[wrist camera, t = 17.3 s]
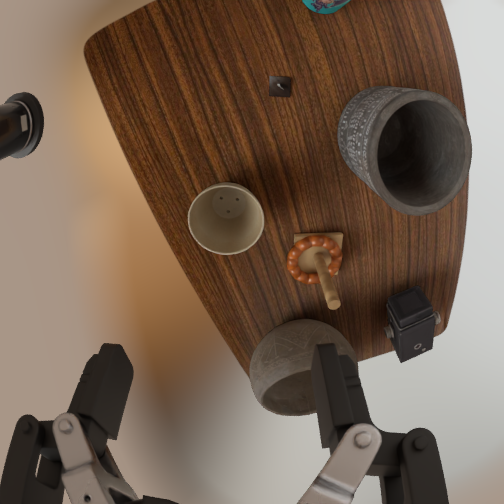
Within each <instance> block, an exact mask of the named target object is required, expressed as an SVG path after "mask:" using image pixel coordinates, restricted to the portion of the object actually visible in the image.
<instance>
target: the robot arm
mask: <svg viewBox="0 0 504 504" xmlns="http://www.w3.org/2000/svg"><path fill="white" fill-rule="evenodd" d="M33 132H34V116H33V113H32V110H31V108H30V107H29V105H28V104H27V103H26V102H24V101H21V100H17V101H13V102H10V103H7V104H2V105H0V160H1V159H3V158H6V157H8V156H10V155H12V154H14V153H17V152H20V151H22V150H24V149H25V148H26V147H27V146H28V145H29V143H30V141H31V139H32V136H33ZM311 378H312V385H313V391H314V397H315V403H316V410H317V416H318V423H319V429H320V436H321V443H322V448H330V455H331V457H330V458H329V460H328V461H327V463H326V464H325V466H324V467H323V469H322V470H321V471H320V473H319V474H318V476H317V477H316V479H315V480H314V481H313V483H312V484H311V486H310V487H309V488H308V490H307V491H306V492H305V494H304V495H303V496H302V498H301V499H300V500H299V502H298V503H297V504H351V502H352V500H353V498H354V493H355V491H356V489H357V488H358V486H359V484H360V483H361V481H362V479H363V478H364V476H365V475H370V476H379V479H380V487H381V496H382V504H449V502H448V495H447V489H446V484H445V479H444V474H443V470H442V464H441V460H440V456H439V451H438V447H437V443H436V439H435V437H434V435H433V434H432V433H431V432H430V431H429V430H427V429H425V428H416V429H413V430H411V431H409V432H408V433H407V434H405V433H390V432H385V431H382V430H380V429H378V428H377V427H376V426H375V425H374V424H373V422H372V421H371V418H370V415H369V411H368V407H367V404H366V400H365V396H364V393H363V389H362V387H361V382H360V378H359V375H358V371H357V368H356V364H355V363H354V362H353V360H352V359H351V358H350V357H349V356H348V354H346V355H338V352H337V349H336V345H335V343H324V344H316V345H315V348H314V354H313V360H312V365H311ZM132 380H133V366H132V364H131V362H130V360H129V359H128V357H127V355H126V353H125V351H124V349H123V347H122V346H121V345H120V344H109V343H104V344H103V345H102V346H101V349H100V351H99V354H94V355H93V356H92V357H91V358H90V359H89V361H88V362H87V363H86V366H85V368H84V370H83V374H82V375H81V378H80V382H79V383H78V385H77V388H76V390H75V393H74V396H73V398H72V401H71V404H70V406H69V409H68V411H67V412H66V413H63V414H60V415H59V416H58V417H57V418H56V419H55V420H53V421H52V420H51V421H38V420H37V419H36V418H35V417H34V416H32V415H24V416H22V417H21V418H20V419H19V420H18V422H17V424H16V427H15V430H14V433H13V436H12V440H11V444H10V447H9V450H8V454H7V458H6V462H5V466H4V470H3V474H2V479H1V484H0V504H62V502H63V495H64V488H65V489H66V491H67V494H68V496H69V499H70V501H71V503H72V504H178V503H176V502H173V501H170V500H167V499H161V498H155V497H150V496H145V495H143V499H139V498H138V497H137V495H136V493H135V492H134V491H133V489H132V488H131V487H130V485H129V484H128V483H127V482H126V481H125V480H124V478H123V476H122V474H121V472H120V471H119V469H118V467H117V465H116V463H115V461H114V459H113V456H112V455H111V452H110V450H109V448H108V446H107V445H106V443H107V439H113V440H117V436H118V432H119V427H120V423H121V420H122V415H123V412H124V408H125V405H126V401H127V397H128V393H129V390H130V387H131V383H132ZM40 454H41V460H40V464H39V468H38V473H37V477H36V475H35V473H36V468H37V464H38V459H39V455H40Z"/></svg>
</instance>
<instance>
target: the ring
mask: <svg viewBox="0 0 504 504" xmlns="http://www.w3.org/2000/svg"><path fill="white" fill-rule="evenodd" d="M311 247H324V248H325V249H327V250H329V252H330V254H331V263H330V264H329V265H328V269H329V272H330V275H331V278H332V277H333V276H334V275H335V273H336V272H337V271H338V270H339V268H340V267H341V261H342V251H341V249H340V247H339V245H338V243H337V242H336V241H334V240H332V239H331V238H329V237H327V236H325V235H310V236H307V237H305V238H303V239H301V240H300V241H298V242H296V243H295V244H294V246H293V247H292V249H291V250H290V252H289V253H288V256H287V269H288V270H289V272H290V273H291V275H292V276H293V278H294V279H296V280H298V281H300V282H303V283H305V284H319V283H321V282H320V279H319V276H318V273H309V274H308V273H306V272H304V271H302V270H301V269H300V267H299V266H298V258H299V257H300V255H301V254H302V253H303V251H305V250H307V249H309V248H311Z"/></svg>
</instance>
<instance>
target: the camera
mask: <svg viewBox="0 0 504 504" xmlns="http://www.w3.org/2000/svg"><path fill="white" fill-rule="evenodd" d="M387 301H388V302H387V314H388V325H389V326H386V327H384V332H385V335H386V337H387V338H390V340H391V342H392V344H393V347H394V349H395V351H396V353H397V356H398V358H399V360H400V362H401V363H402V362H404V361H407V360H409V359H411V358H413V357H416V356H418V355H420V354H422V353H424V352H426V351H428V350H431V349H432V347H433V337H434V328H435V325H436V324H437V323H440V321H441V319H440V315H439V313H438V312H437V311H434V312H433V306H432V305H431V303H430V302H429V300H428V299H427V297H426V296H425V294H424V293H423V291H422V290H421V288H420V286H418V285H417V286H414V287H412V288H410V289H407V290H405V291H402V292H400V293H398V294H395V295H393V296H390V297H389V298H388V300H387Z"/></svg>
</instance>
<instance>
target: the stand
mask: <svg viewBox="0 0 504 504" xmlns="http://www.w3.org/2000/svg"><path fill="white" fill-rule="evenodd" d="M310 235H325V236H327V237H329V238H331V239H332V240H334V241H336V242H337V243H338V245H339V247H340V249H341V248H342V240H343V234H342V232H335V233H304V234H294V244H295V243H296V242H298V241H300V240H301V239H303V238H305V237H307V236H310ZM330 263H331V254H330V252H329V250H327V249H325V248H324V247H311V248H309V249H307V250H305V251H303V253H302V254H301V255H300V257H299V258H298V266H299V267H300V269H301V270H302V271H304V272H306V273H308V274H309V273H318V276H319V279H320V282H321V285H322V289H323V292H324V295H325V298H326V302H327V305H328V308H329V309H331V310H335V309H337V308H339V307H340V305H341V302H340V300H339V297H338V294H337V291H336V288H335V286H334V283H333V280H332V278H331V275H330V272H329V269H328V265H329V264H330ZM335 275H338V271H337V272H336V273H335Z"/></svg>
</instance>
